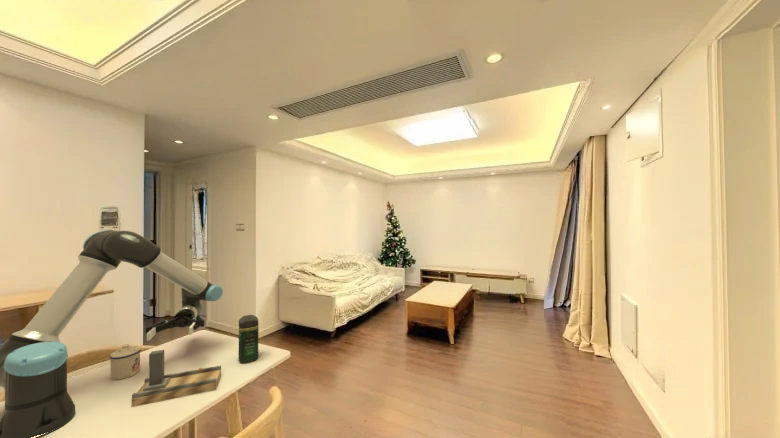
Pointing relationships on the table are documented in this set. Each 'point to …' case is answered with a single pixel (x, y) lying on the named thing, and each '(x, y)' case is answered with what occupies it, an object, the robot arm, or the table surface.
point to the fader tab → (156, 371)
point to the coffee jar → (248, 338)
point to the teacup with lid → (125, 362)
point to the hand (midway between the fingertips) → (169, 334)
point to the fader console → (180, 385)
